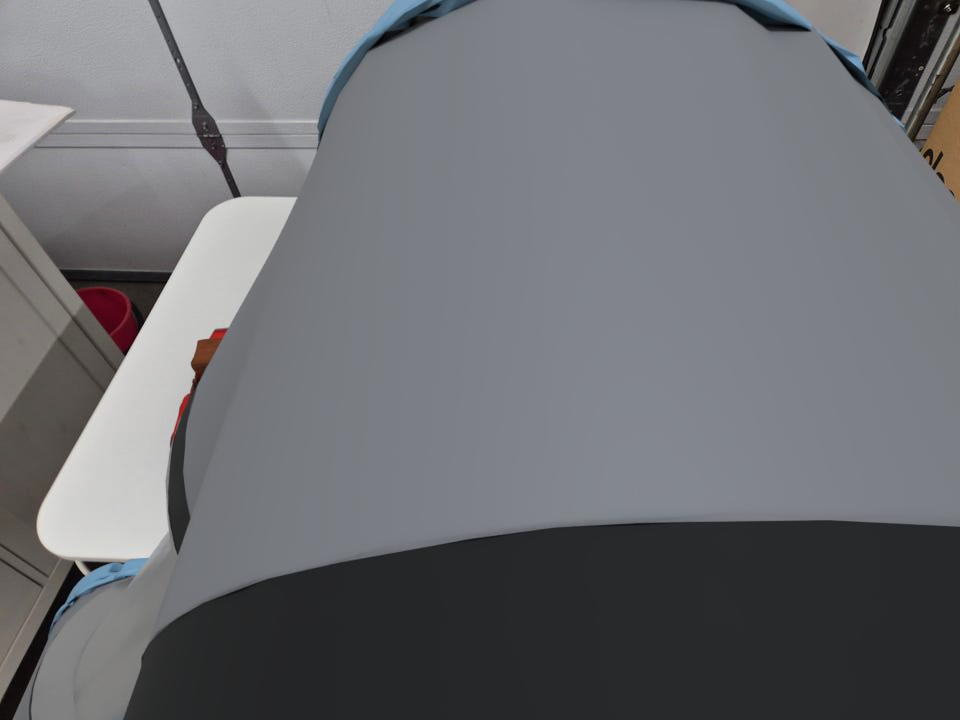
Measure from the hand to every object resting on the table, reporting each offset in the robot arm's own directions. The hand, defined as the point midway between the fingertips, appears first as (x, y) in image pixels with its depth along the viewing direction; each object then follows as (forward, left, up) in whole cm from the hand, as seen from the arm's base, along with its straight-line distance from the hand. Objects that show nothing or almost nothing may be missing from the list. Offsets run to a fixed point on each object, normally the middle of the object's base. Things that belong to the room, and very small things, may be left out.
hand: (474, 495), depth 59 cm
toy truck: (-9, +33, -6) cm, 35 cm away
